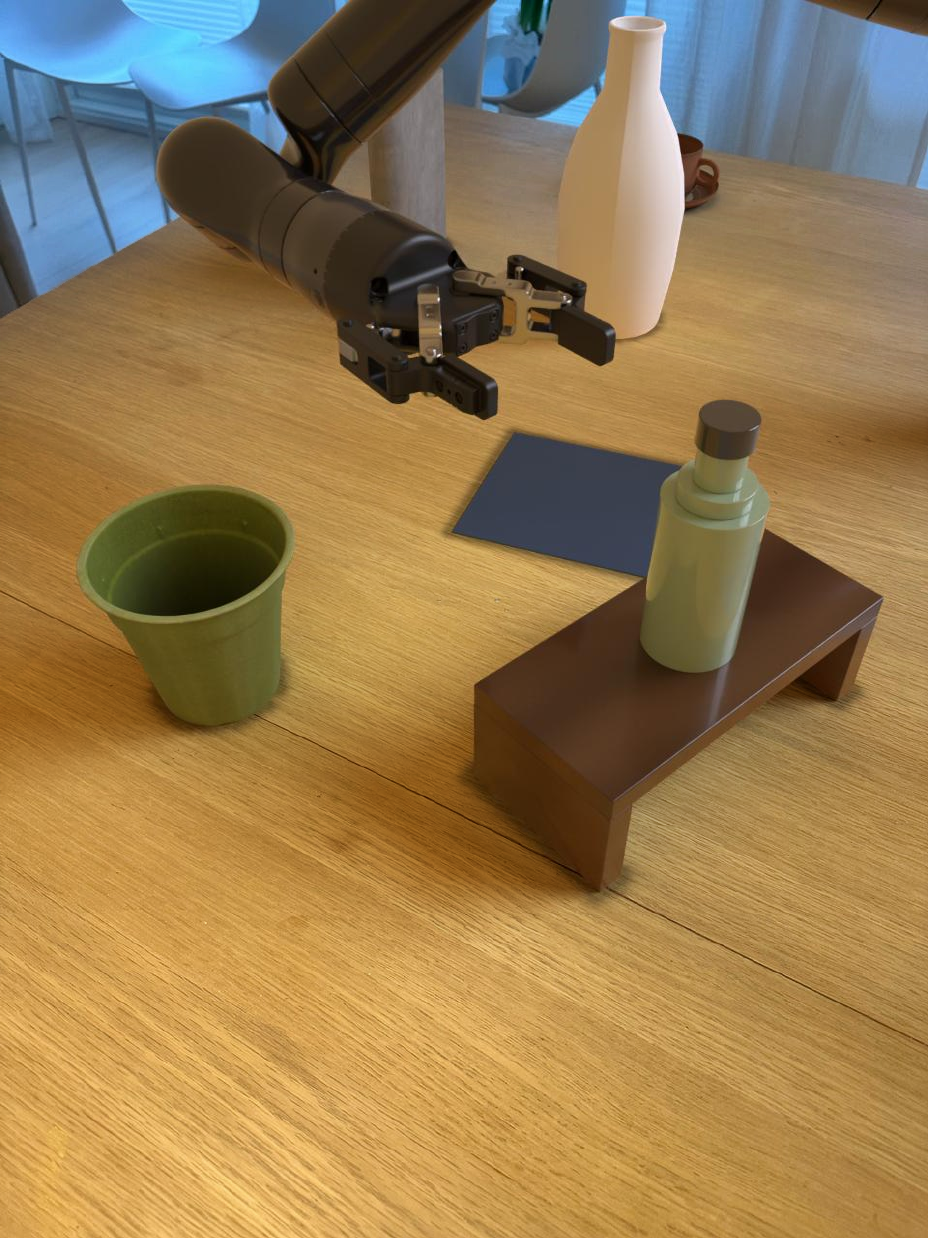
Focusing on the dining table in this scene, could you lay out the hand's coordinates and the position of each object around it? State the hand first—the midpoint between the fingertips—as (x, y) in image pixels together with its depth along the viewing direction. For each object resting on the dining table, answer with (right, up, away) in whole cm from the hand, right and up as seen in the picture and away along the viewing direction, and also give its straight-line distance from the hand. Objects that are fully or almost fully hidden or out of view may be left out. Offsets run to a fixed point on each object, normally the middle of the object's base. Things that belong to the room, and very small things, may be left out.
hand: (554, 374), depth 56 cm
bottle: (+9, +15, +45) cm, 48 cm away
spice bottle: (+7, -14, +1) cm, 16 cm away
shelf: (+7, -20, +7) cm, 22 cm away
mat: (+4, -4, +23) cm, 24 cm away
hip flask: (-10, +23, +53) cm, 58 cm away
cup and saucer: (+18, +36, +67) cm, 78 cm away
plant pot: (-20, -17, +10) cm, 28 cm away
